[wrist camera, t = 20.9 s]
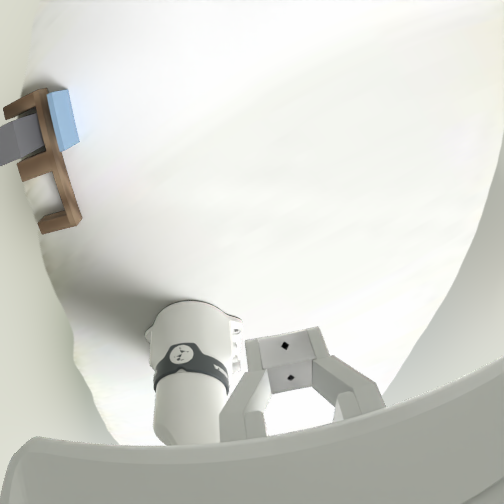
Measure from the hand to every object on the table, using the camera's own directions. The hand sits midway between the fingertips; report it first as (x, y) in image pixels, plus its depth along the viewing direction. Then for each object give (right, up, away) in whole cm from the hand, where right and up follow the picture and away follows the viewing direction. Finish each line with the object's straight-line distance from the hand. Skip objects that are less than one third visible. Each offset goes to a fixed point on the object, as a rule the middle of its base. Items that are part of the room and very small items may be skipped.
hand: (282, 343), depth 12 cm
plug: (-33, +21, +22) cm, 45 cm away
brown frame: (-30, +17, +25) cm, 43 cm away
